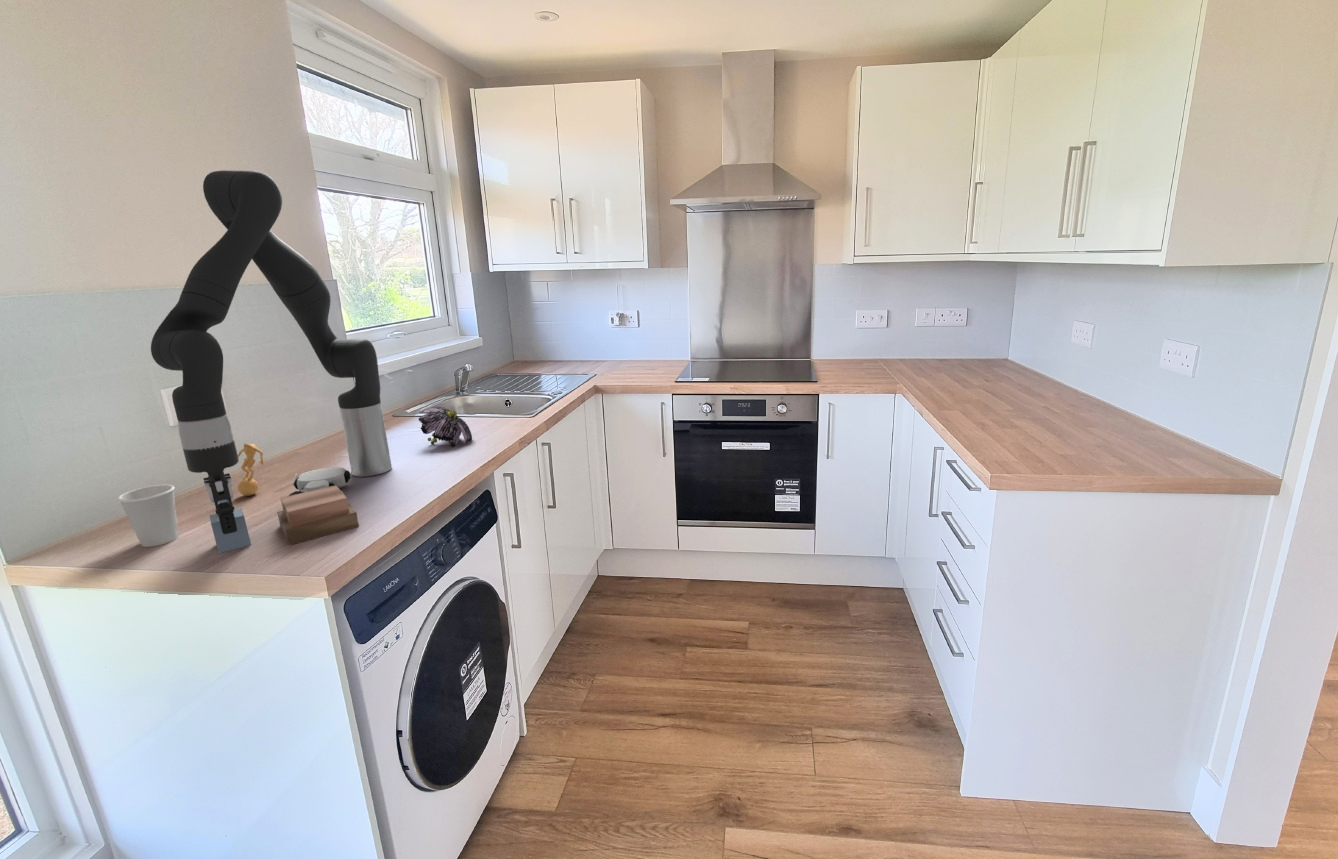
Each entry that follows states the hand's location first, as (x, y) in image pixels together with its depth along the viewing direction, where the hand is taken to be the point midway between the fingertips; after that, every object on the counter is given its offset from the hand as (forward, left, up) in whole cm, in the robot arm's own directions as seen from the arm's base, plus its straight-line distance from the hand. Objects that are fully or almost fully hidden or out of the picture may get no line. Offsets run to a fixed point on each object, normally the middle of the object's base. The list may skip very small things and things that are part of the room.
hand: (228, 525), depth 114 cm
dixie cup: (-13, -11, -4) cm, 18 cm away
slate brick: (0, 0, -4) cm, 4 cm away
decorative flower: (-39, +54, -4) cm, 67 cm away
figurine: (-31, +6, -4) cm, 32 cm away
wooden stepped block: (+2, +14, -4) cm, 15 cm away
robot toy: (-18, +18, -4) cm, 26 cm away
